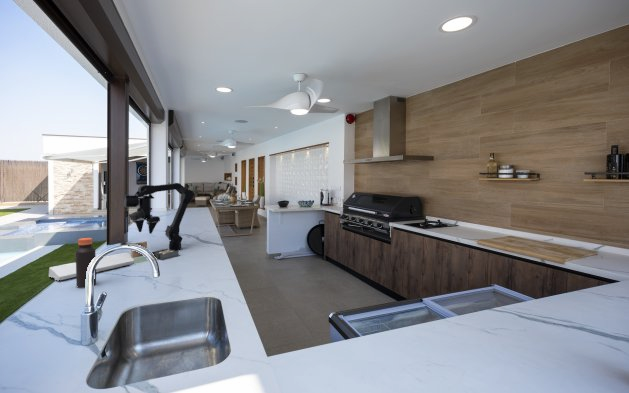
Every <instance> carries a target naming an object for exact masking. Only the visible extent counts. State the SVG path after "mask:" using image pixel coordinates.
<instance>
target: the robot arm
mask: <svg viewBox="0 0 629 393" xmlns="http://www.w3.org/2000/svg"><path fill="white" fill-rule="evenodd" d="M174 190H175V191H176V192H178V194H180V198H179V200H180V202H179V206H178V207H177V210H176V213H175V215H174V219H173V220H172V222H171V224H170V225H167V226H166V230H165V231H164V232H165V236H166V238H168V240H169V243H168V250H169V249H171V250H175V251H177V250H178V251H183V248H182V241H183V237H182V236H181V235H180V225H181V223H182V221H183V218H184V215H185V213H186V209H187V207H188V205H189V204H190V203H191V202H192V201H193V199H194V197H195V193H194V191H193V190H191V189H188V188H187V187H185V186H183V185H182V184H181V183H179V182H174V183H166V184H158V185H157V184H156V185H152V184H141V185H140V186H138V188H137V190H136V192H135V194H134V195H132V194H131V195H127V194H125V195H124V199H123V206H124V208H137V206H139V207H138V208H137V209H136V210H135V211H134V212H132V213H130V214H129V215H128V216H129V218H130V221H132V222H133V223H134V224H135V226H136V227H137V230H138V232H139V233H141V232H142V231H143V227H144V222H145V221H146V224H147V226H148V232H149V235H152V234H153V231H154V229H155V227H156V226H157V224H158V223H159V222H161V217H159V216H156V215H153V214H152V213H151V211H152V210H153V208H152V207H151V199H155V197H154V196H153V195H152V194H155V193H157V192H159V193H160V192H165V191H174Z"/></svg>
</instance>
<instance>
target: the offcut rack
mask: <svg viewBox="0 0 629 393" xmlns="http://www.w3.org/2000/svg"><path fill="white" fill-rule="evenodd" d="M167 250H170V251H173V252H169V251H167ZM163 251H167V252H169V253H165V252H163ZM151 252H152V253H153V254H154V256H155V257H156V258H157V259H156V260H158V261H166V260H169V259H170V260H171V259H173V258H177V257H181V255H179V250H177V251H175V250H171V249H169V248H164V249H160V250H155V251H151ZM159 252H163V253H165V254H163V253H159Z"/></svg>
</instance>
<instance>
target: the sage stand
mask: <svg viewBox="0 0 629 393" xmlns="http://www.w3.org/2000/svg"><path fill="white" fill-rule="evenodd" d="M133 260H134V263H133V264H132V265H140V264H144V263H148V262H149V261H148V260H147V259H146V257H144V256H140V257H136V258H133ZM135 260H136V261H135Z"/></svg>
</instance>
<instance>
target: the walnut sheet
mask: <svg viewBox="0 0 629 393" xmlns="http://www.w3.org/2000/svg"><path fill="white" fill-rule="evenodd" d="M132 244H138V245H141V246H143V247H145V248H147V249H148V241H140V242H135V243H132ZM130 255H131V258H136V257H140V256H143V255H142V254H140V253H138V252H136V251H132V250H131V249H130Z"/></svg>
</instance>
